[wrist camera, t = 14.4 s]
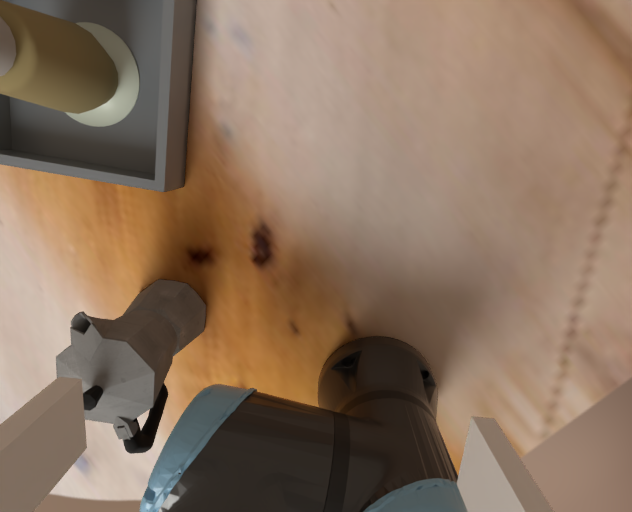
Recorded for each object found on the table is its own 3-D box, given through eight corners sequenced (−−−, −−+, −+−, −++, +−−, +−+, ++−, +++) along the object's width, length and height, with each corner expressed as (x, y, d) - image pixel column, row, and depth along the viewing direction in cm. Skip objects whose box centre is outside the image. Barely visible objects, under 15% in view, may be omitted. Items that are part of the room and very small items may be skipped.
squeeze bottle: (37, 56, 39) (-192, -16, 22) (101, 17, 38) (-89, -92, 21) (83, 130, 41) (-96, 117, 24) (144, 94, 40) (3, 54, 23)
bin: (184, 186, 44) (164, 192, 38) (11, 157, 44) (-33, 158, 38) (197, -12, 38) (176, -38, 33) (-1, -47, 38) (-54, -79, 33)
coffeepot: (118, 271, 47) (-4, 344, 30) (190, 255, 46) (106, 320, 29) (161, 377, 51) (74, 496, 34) (228, 364, 50) (174, 479, 33)
